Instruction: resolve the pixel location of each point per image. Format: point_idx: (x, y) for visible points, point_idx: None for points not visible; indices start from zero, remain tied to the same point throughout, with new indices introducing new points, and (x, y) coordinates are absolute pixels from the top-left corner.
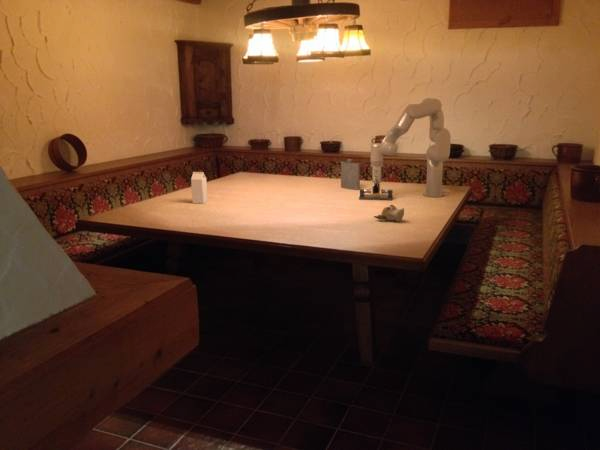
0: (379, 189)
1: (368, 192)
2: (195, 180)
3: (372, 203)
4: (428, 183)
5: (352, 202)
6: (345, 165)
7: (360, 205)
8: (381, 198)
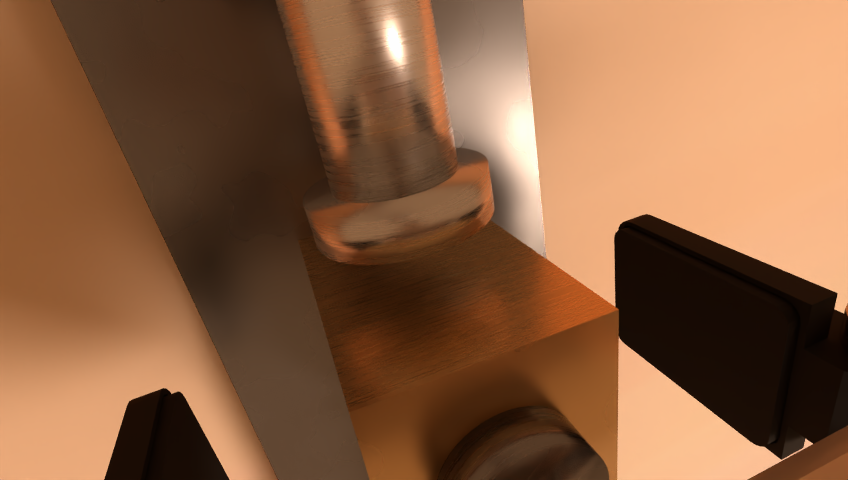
0: (536, 277)
1: None
2: None
3: (747, 171)
4: None
5: (700, 423)
6: None
7: (837, 269)
8: (523, 110)
